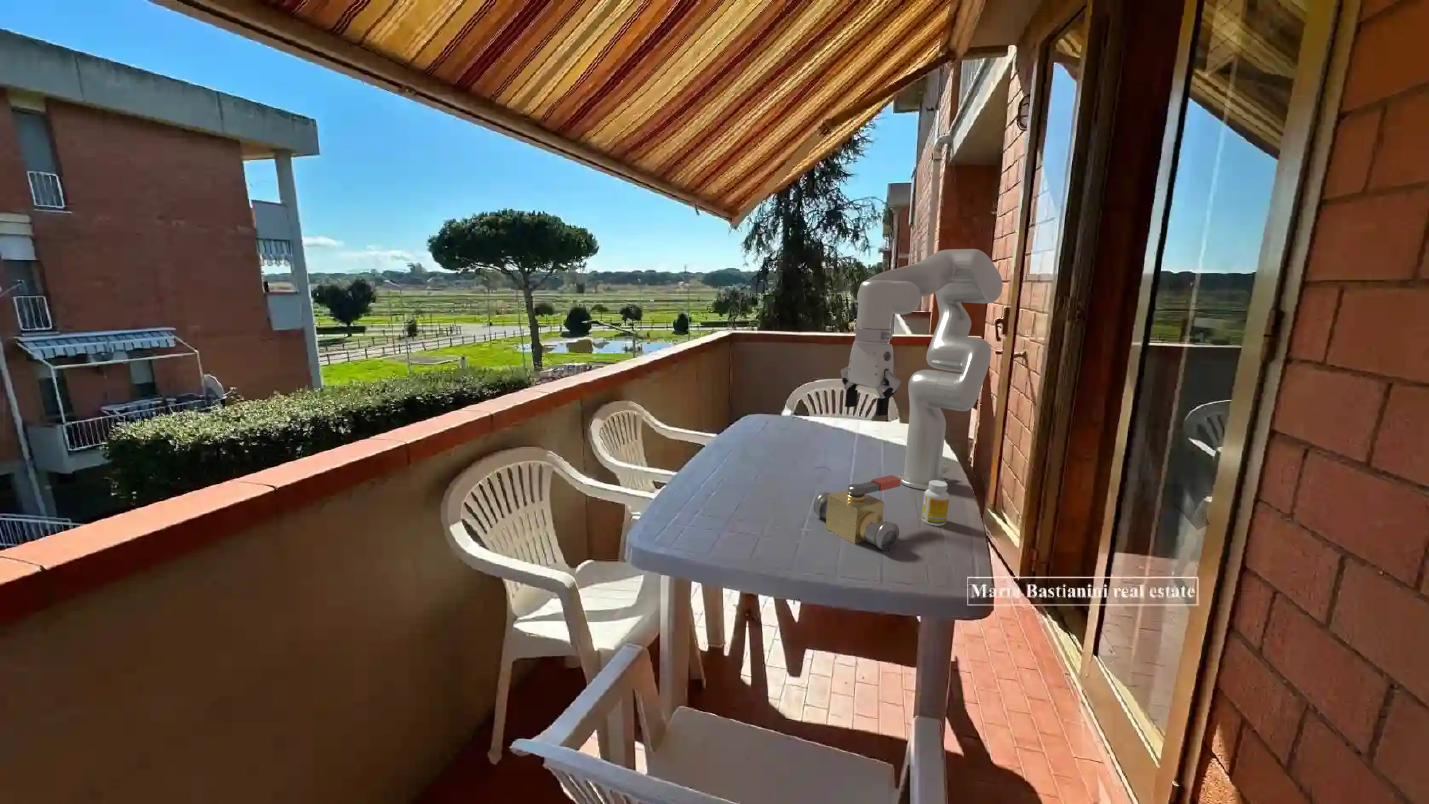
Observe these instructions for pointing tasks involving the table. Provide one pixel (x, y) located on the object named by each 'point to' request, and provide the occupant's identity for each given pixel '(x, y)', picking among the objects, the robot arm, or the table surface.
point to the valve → (857, 518)
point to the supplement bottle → (935, 503)
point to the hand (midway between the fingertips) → (865, 410)
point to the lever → (874, 486)
